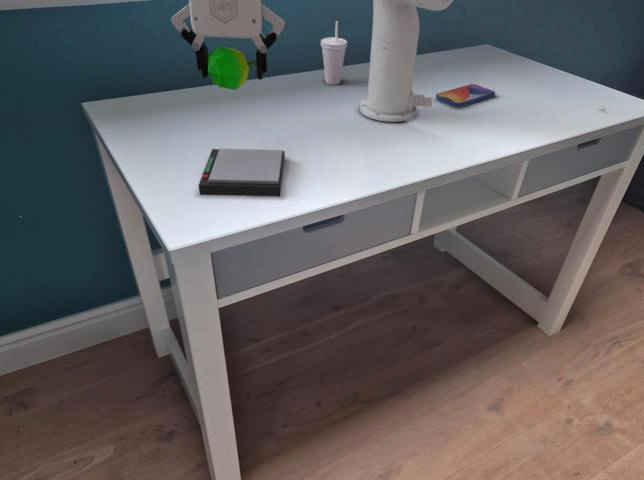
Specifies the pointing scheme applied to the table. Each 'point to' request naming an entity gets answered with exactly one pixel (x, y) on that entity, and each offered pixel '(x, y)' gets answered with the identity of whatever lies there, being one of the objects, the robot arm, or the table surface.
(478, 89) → the smartphone
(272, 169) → the scale
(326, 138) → the table surface
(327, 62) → the smoothie
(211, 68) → the apple
